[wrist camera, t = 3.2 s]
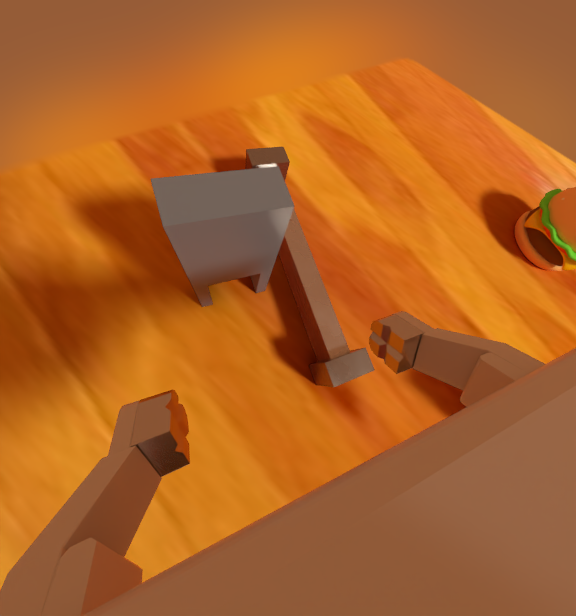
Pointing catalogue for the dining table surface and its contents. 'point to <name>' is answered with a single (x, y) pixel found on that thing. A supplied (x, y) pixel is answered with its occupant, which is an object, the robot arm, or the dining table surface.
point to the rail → (312, 294)
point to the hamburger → (550, 231)
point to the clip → (225, 224)
